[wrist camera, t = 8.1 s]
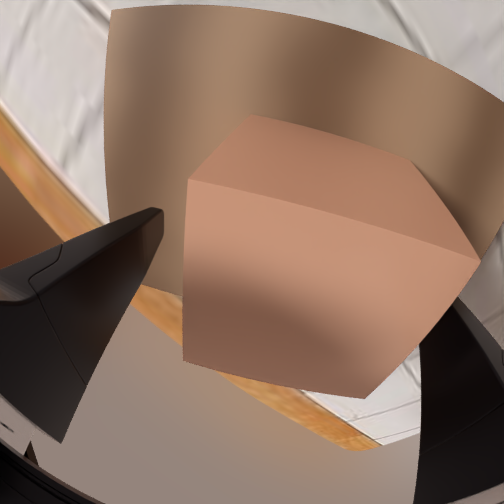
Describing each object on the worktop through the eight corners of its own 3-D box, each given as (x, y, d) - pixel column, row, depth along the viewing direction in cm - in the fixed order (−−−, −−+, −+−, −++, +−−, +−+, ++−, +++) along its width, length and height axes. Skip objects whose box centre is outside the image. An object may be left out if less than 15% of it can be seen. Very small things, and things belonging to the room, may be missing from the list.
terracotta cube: (410, 160, 10) (481, 261, 5) (355, 279, 13) (364, 398, 9) (250, 114, 10) (187, 178, 5) (228, 247, 13) (182, 360, 9)
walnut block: (507, 114, 9) (541, 131, 7) (406, 312, 18) (413, 348, 15) (147, 14, 10) (111, 10, 8) (140, 246, 19) (118, 276, 16)
